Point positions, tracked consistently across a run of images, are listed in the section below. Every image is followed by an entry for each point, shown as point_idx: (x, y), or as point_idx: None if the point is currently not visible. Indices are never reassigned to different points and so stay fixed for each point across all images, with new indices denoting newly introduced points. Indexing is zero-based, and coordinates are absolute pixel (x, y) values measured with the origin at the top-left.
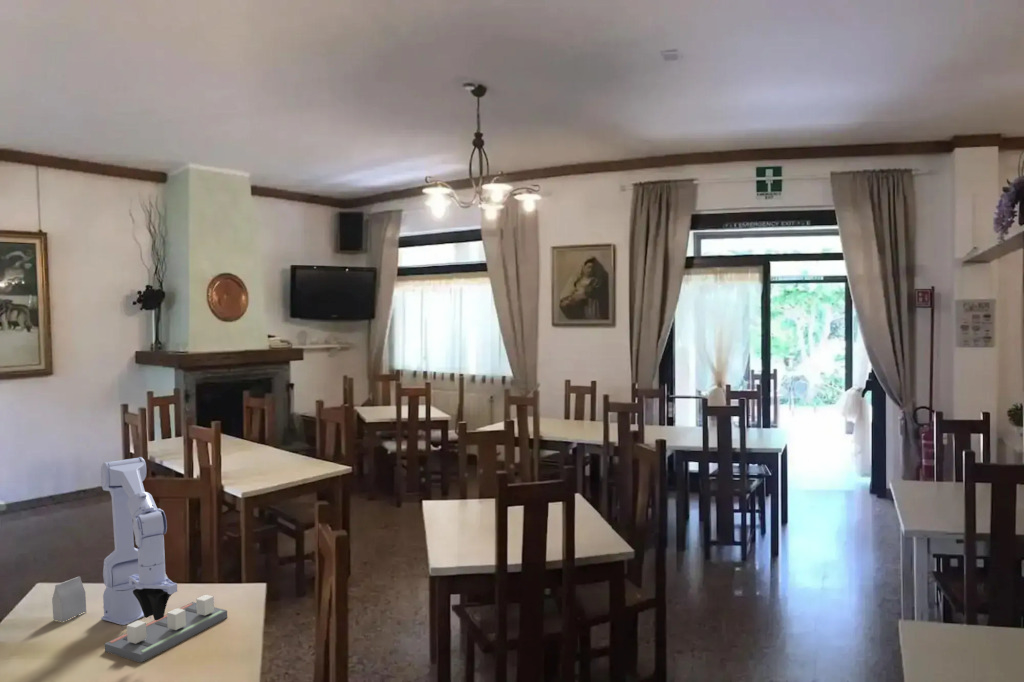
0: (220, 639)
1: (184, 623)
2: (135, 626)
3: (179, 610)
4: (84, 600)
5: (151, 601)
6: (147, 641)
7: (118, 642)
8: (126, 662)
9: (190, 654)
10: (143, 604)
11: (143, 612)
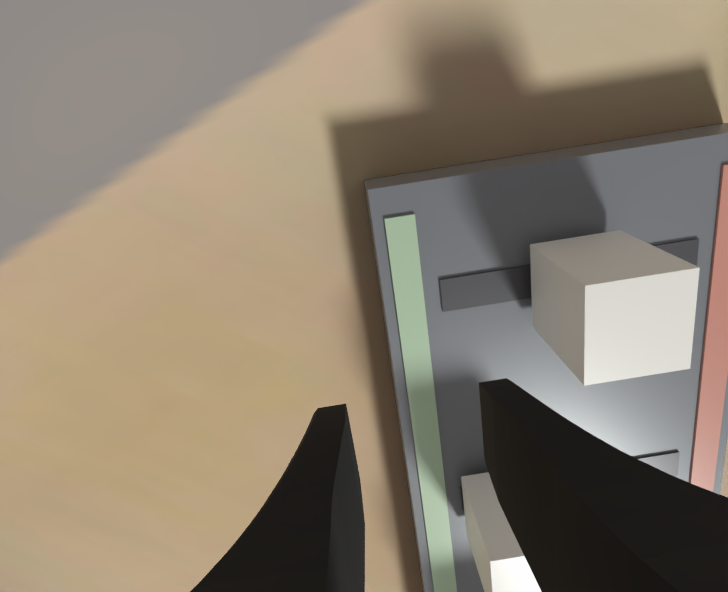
0: None
1: (469, 538)
2: (603, 299)
3: None
4: None
5: (290, 583)
6: (507, 314)
7: (684, 195)
8: (456, 127)
9: (212, 397)
10: (555, 474)
11: (526, 400)
